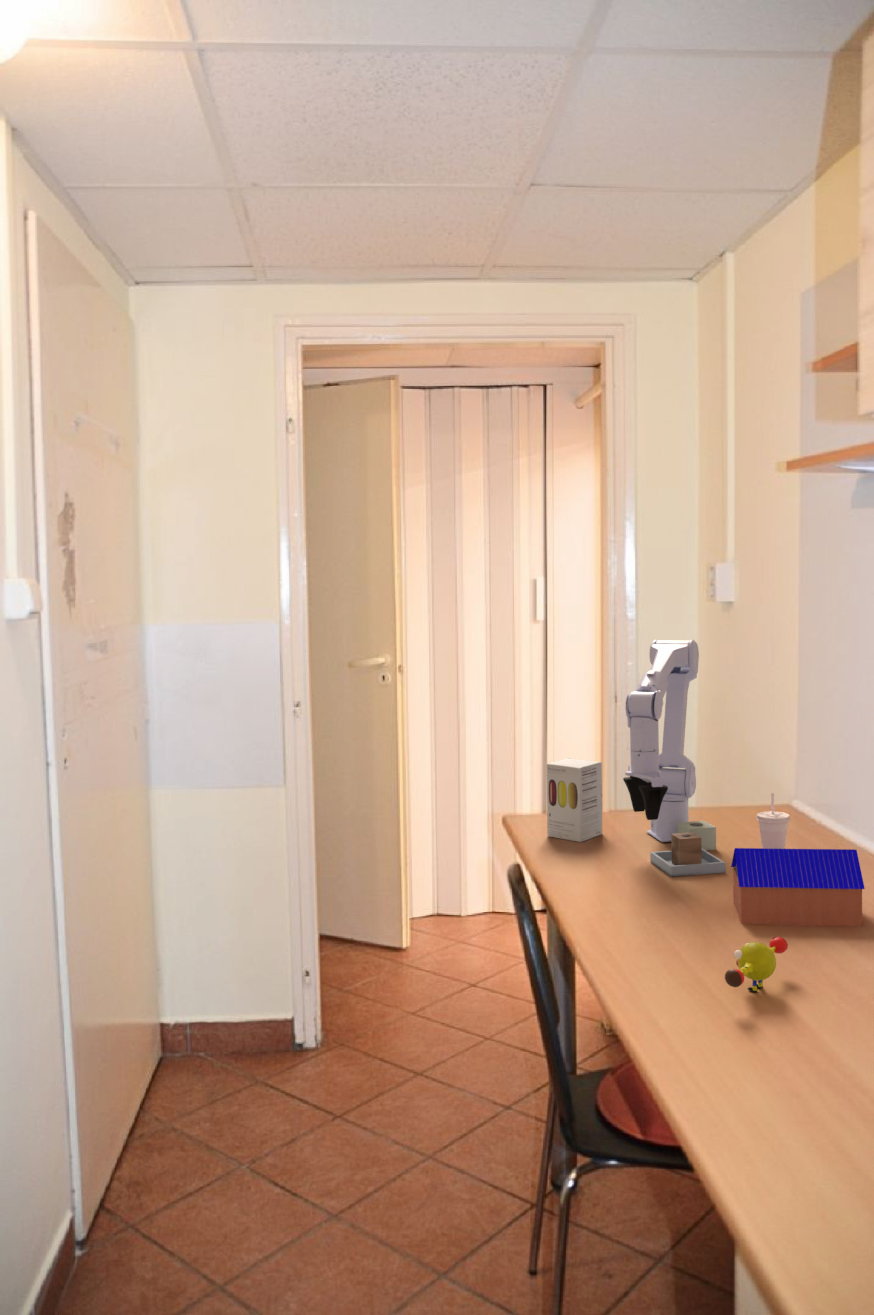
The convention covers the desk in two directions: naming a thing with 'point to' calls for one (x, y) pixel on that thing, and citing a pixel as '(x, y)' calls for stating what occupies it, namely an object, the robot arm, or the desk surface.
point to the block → (686, 848)
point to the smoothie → (773, 827)
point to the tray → (706, 867)
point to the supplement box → (574, 799)
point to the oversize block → (700, 832)
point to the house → (797, 886)
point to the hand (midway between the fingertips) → (645, 815)
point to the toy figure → (755, 962)
